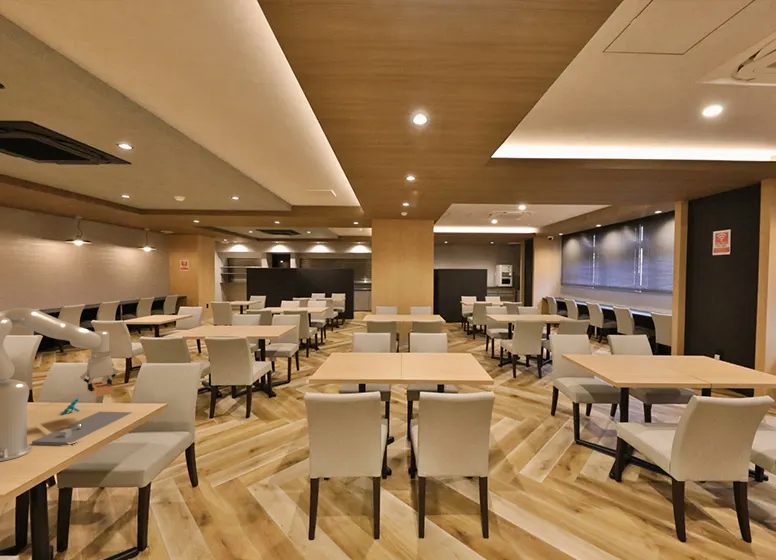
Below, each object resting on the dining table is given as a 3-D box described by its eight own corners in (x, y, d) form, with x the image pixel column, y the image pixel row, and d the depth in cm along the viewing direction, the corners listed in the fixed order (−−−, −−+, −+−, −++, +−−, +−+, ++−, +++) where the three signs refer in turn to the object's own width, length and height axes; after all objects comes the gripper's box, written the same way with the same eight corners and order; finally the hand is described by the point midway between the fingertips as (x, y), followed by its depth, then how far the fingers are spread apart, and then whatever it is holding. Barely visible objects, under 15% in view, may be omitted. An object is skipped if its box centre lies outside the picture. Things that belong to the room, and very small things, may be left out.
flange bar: (113, 393, 187) (113, 385, 187) (96, 397, 182) (96, 389, 182) (103, 387, 197) (103, 380, 197) (87, 390, 192) (87, 383, 192)
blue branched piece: (63, 408, 205) (79, 394, 207) (73, 414, 207) (88, 400, 210) (57, 417, 195) (74, 403, 198) (68, 423, 198) (84, 409, 200)
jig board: (72, 445, 164) (72, 437, 164) (32, 444, 165) (32, 436, 165) (132, 415, 200) (132, 408, 199) (99, 414, 201) (99, 407, 201)
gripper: (117, 351, 199) (117, 384, 199) (76, 356, 185) (76, 391, 185) (122, 353, 194) (122, 386, 194) (80, 358, 180) (80, 394, 180)
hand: (99, 388), depth 190 cm, fingers closed on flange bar, 7 cm apart
